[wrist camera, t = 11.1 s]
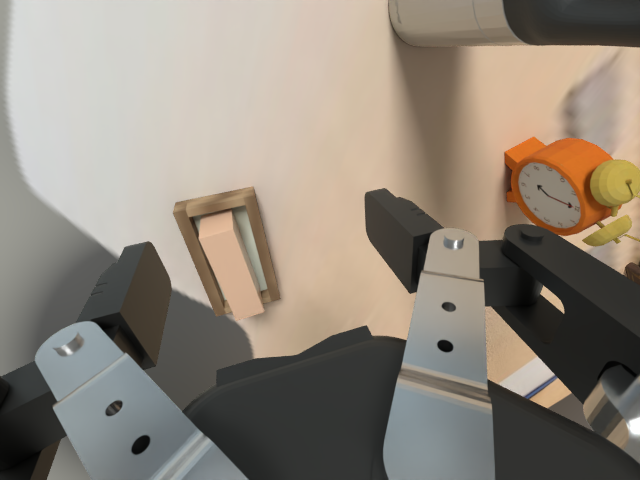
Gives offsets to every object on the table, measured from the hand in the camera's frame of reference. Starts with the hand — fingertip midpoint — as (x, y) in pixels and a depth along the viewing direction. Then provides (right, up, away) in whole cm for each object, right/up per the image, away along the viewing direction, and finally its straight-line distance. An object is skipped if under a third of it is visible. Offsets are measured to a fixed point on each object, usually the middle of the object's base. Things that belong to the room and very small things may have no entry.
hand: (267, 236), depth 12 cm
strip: (-11, -2, +33) cm, 34 cm away
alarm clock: (+36, +12, +41) cm, 56 cm away
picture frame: (-11, -2, +34) cm, 36 cm away
